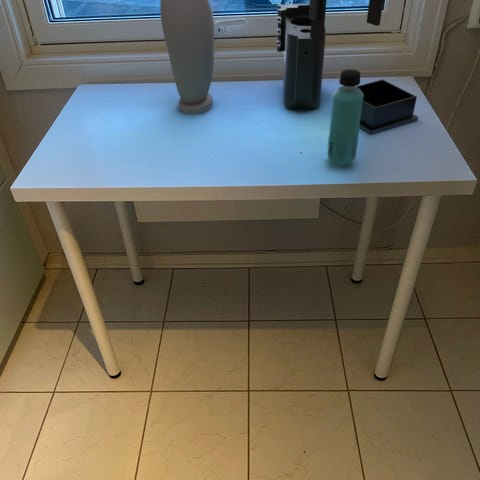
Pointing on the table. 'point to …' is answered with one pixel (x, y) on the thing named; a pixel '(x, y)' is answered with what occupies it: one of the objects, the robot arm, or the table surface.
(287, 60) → the black machined bracket
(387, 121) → the square planter
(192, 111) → the vase
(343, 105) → the beverage bottle
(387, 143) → the table surface
